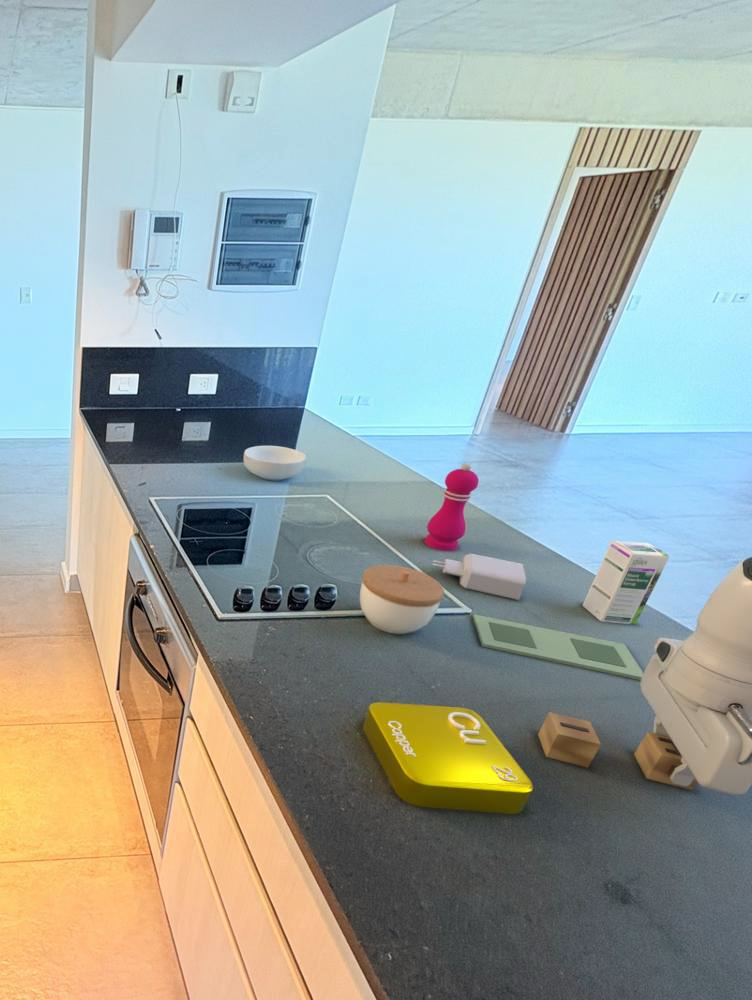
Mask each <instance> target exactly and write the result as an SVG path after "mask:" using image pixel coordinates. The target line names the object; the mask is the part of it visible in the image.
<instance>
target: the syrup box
mask: <svg viewBox="0 0 752 1000" xmlns="http://www.w3.org/2000/svg"><path fill="white" fill-rule="evenodd" d="M669 559H670V555H669V554H667V553H666V552H664V551H663V550H662V549H660V548H658V547H657V546H655V545H653V544H651V543H649V542H635V541H619V540H611V541H610V543H609V546H608V548H607V550H606V552H605V555H604V557H603V558H602V561H601V563H600V566H599V568H598V570H597V573H596V574H595V577H594V579H593V581H592V584H591V586H590V588H589V590H588V593H587V595H586V597H585V599H584V601H583V603H582V606H583V608H585V609H586V610H587V611H588V612H589V613H590V614H592V615H593V616H594V617H595V618H596V619H598V621H600V622H602V623H603V622H604V623H612V624H624V625H636V624H637V623H638V620H639V618H640V617H641V615H642V613H643V610H644V609H645V606H646V605H647V602H648V600H649V599H650V597H651V595H652V594H653V591H654V588H655V587H656V585H657V583H658V581H659V579H660V577H661V575H662V573H663V571H664V570H665V567H666V565H667V563H668V561H669Z"/></svg>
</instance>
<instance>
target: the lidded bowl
mask: <svg viewBox="0 0 752 1000" xmlns="http://www.w3.org/2000/svg"><path fill="white" fill-rule="evenodd" d="M444 594H445V589H444V587H443V585H442V584H441V583H440V582H439V581H438V580H436V579H435V578H433V577H432V576H430V575H429V574H427V573H424V572H423V571H419V570H417V569H413V568H410V567H406V566H401V565H394V564H379V565H373V566H370V567H368V568H366V570H364V572H363V574H362V579H361V585H360V589H359V604H360V609H361V612H362V614H363V615H364V617H365V618H366V619H367V620H368V621H369V623H370V624H371V625H373V626H374V627H375V628H377V629H379V630H381V631H384V632H386V633H388V634H389V633H390V634H393V635H394V634H395V635H406V634H410V633H414V632H416V631H419V630H421V629H422V628H424V627H426V626H427V625H428V624H430V622H431V621H432V619H433V618H434V617H435V615H436V613H437V611H438V609H439V607H440V604H441V601H442V600H443V599H444Z"/></svg>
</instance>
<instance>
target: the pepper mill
mask: <svg viewBox="0 0 752 1000" xmlns="http://www.w3.org/2000/svg"><path fill="white" fill-rule="evenodd" d="M471 469H472V464H470V462H469V463H468V462H464V463H463V464H462V465H461V467H460V468H457V469H454V470H451V471H450V472H448V474H447V475H446V476H445V479H444V484H445V486H446V488H445V489H444V492H443V494H442V495H443V496H444V499H443V502H442V505H441V506H440V508H439V510H437V512H436V513H435V514H433V516H432V517H431V518H430V519H429V521H428V523H427V525H426V530H427V532H428V534H427V535H426V537H425V540H424V544H426V545H427V546H428V547H430V548H431V549H436V550H438V551H442V552H443V551H445V552H453V551H456V550H457V549H458V546H459V540H460V539H462V538H463V537H464V536H465V534H466V521H465V515H464V510H465V506H466V504H467V502H468V501H470V500H471V496H472V492H473V491H475V490H476V489H477V488H478V486H479V476H478V474H476V473H475V472H474V471H472V470H471Z"/></svg>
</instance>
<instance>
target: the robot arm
mask: <svg viewBox="0 0 752 1000" xmlns="http://www.w3.org/2000/svg"><path fill="white" fill-rule="evenodd" d="M653 650H654V652H655V653H653V655H652V656H651V658H650V659H649V661H648V663H647V665H646V667H645V669H644V671H643V676H642V678H641V680H640V691H641V693H642V695H643V696H644V698H645V700H646V701H647V703H648V704H649V706H650V708H651V709H652V711H653V713H654V714H655V717H654V720H653V730H652V732H653V733H657V734H661V735H665V736H669V737H670V738H671V739H672V741H673V743H674V744H675V746H676V747H677V749H678V751H679V752H680V754H681V755H682V759H681V762H682V763H683V764H682V765H680V766H675V765H672V766H671V767H670V769H669V770H668V772H667V774H668V776H669V778H670V780H671V781H672V782H673V783H674V784H678V785H682V786H689V785H690V784H691V782H692V781H693V779H694V778H696V780H697V781H698V783H697V784H699V785H700V786H701V787H702V788H705V789H708V790H711V791H715V792H719V793H723V794H727V795H732V796H740V795H744V794H746V793H747V792H748V791H749V789H750V788H751V786H752V556H749V557H747V558H744V559H743V560H741V561H740V562H738V563H737V564H736V565H735V566H734V567H733V568H732V569H731V570H730V571H728V573H727V574H726V575H725V576H724V578H722V580H721V581H720V582H719V583H718V585H717V586H716V587H715V588H714V590H713V591H712V593H711V594H710V596H709V597H708V599H707V600H706V602H705V604H704V605H703V607H702V608H701V610H700V612H699V614H698V616H697V620H696V627H695V630H694V632H693V633H692V634H690V635H689V636H688V637H687V638H685V639H684V640H680V639H674V638H668V637H659V638H658V639H657V641H656V642H655V644H654V647H653Z"/></svg>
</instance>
